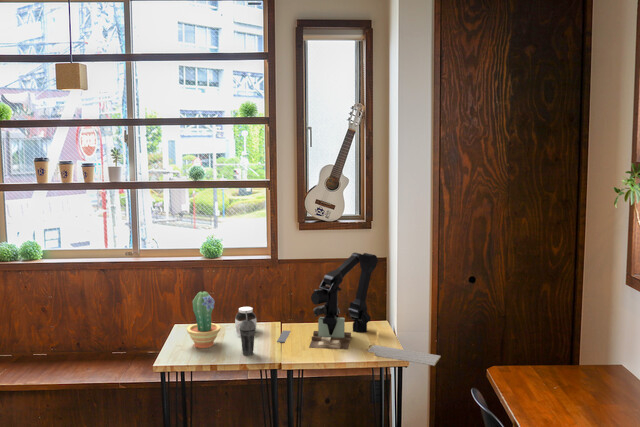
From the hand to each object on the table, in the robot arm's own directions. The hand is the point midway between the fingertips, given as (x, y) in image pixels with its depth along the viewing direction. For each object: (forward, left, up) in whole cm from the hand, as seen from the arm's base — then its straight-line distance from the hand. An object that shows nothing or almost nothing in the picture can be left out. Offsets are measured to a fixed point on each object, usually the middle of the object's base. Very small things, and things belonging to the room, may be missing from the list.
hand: (331, 332), depth 285 cm
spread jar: (+43, -6, -4) cm, 44 cm away
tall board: (0, 0, -3) cm, 3 cm away
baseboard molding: (-33, +16, -5) cm, 37 cm away
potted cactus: (+58, +13, -4) cm, 60 cm away
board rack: (0, +4, -4) cm, 6 cm away
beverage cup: (+35, +22, -4) cm, 42 cm away
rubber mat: (+18, -2, -4) cm, 19 cm away
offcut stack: (0, +10, -3) cm, 10 cm away
